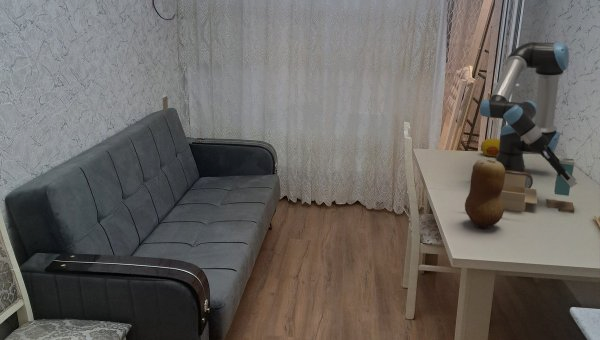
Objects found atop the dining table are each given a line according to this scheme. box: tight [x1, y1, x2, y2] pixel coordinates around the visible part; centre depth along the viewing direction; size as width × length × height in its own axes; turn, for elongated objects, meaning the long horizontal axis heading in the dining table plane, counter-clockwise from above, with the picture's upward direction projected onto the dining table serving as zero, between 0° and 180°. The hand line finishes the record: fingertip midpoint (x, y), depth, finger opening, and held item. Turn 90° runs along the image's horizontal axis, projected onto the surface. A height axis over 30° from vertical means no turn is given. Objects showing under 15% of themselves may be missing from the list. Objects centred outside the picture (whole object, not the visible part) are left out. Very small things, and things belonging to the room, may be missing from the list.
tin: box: [505, 170, 534, 189], centre depth 233 cm, size 15×3×8 cm, turn 71°
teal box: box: [553, 157, 575, 197], centre depth 208 cm, size 5×5×14 cm
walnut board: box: [545, 198, 575, 214], centre depth 212 cm, size 10×10×1 cm
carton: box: [500, 174, 538, 213], centre depth 215 cm, size 23×26×9 cm
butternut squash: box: [464, 158, 505, 229], centre depth 188 cm, size 14×13×25 cm
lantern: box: [466, 138, 500, 158], centre depth 291 cm, size 10×10×30 cm
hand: (573, 183), depth 207 cm, fingers closed on teal box, 5 cm apart
